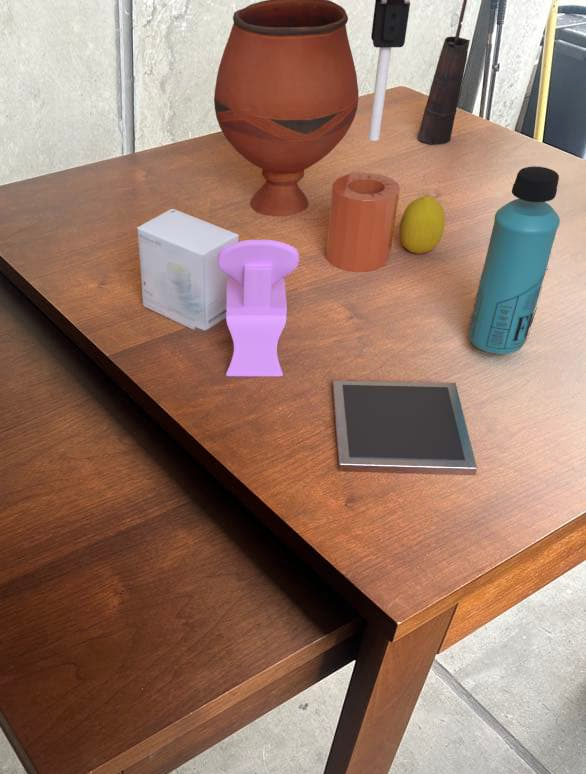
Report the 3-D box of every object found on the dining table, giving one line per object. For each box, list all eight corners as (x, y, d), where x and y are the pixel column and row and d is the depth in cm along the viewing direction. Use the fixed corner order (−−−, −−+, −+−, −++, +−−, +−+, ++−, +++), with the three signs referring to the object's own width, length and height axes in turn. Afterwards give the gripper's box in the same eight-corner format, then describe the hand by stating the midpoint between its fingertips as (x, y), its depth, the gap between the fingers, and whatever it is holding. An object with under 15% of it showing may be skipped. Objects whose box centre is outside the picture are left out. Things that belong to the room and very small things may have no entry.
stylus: (378, 137, 98) (399, -17, 87) (379, 141, 97) (400, -14, 86) (367, 137, 98) (386, -17, 87) (368, 141, 97) (388, -14, 86)
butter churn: (440, 157, 136) (479, -55, 116) (391, 141, 141) (421, -65, 121) (474, 141, 140) (517, -66, 120) (425, 126, 145) (460, -75, 125)
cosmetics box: (140, 307, 106) (134, 225, 99) (175, 287, 109) (173, 206, 102) (203, 337, 101) (203, 253, 94) (239, 315, 104) (241, 232, 97)
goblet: (317, 173, 133) (333, -15, 115) (367, 227, 120) (394, 24, 102) (197, 189, 130) (195, -1, 112) (235, 247, 117) (240, 41, 99)
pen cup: (384, 248, 115) (396, 172, 108) (390, 277, 110) (402, 200, 103) (324, 247, 116) (331, 172, 109) (326, 277, 110) (334, 200, 103)
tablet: (454, 389, 93) (456, 381, 92) (475, 475, 83) (477, 467, 82) (331, 386, 93) (332, 379, 93) (338, 471, 84) (339, 463, 83)
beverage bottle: (509, 373, 94) (562, 192, 80) (452, 353, 97) (493, 175, 83) (532, 346, 98) (586, 168, 84) (476, 328, 101) (520, 153, 87)
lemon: (392, 262, 112) (402, 202, 107) (398, 243, 116) (408, 184, 110) (435, 268, 111) (447, 207, 105) (440, 248, 115) (452, 189, 109)
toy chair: (289, 333, 101) (297, 208, 90) (292, 376, 95) (302, 247, 84) (218, 333, 102) (218, 208, 91) (216, 376, 95) (217, 248, 85)
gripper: (473, -174, 72) (433, 67, 85) (446, -195, 83) (414, 22, 96) (382, -172, 72) (356, 67, 85) (367, -193, 83) (346, 22, 96)
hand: (387, 42), depth 91 cm, fingers closed on stylus, 1 cm apart
